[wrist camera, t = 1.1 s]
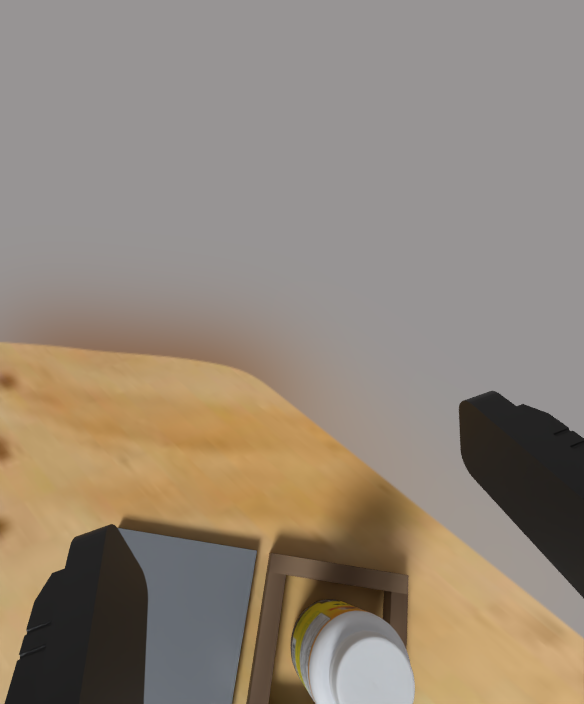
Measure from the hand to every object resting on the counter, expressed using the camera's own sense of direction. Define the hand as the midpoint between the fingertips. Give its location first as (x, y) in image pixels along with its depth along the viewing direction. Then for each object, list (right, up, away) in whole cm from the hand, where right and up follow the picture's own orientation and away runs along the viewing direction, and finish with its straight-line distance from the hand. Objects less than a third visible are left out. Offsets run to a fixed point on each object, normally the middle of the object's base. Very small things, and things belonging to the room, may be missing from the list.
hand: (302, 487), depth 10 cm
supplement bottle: (+2, -17, +21) cm, 27 cm away
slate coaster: (-8, -15, +19) cm, 26 cm away
